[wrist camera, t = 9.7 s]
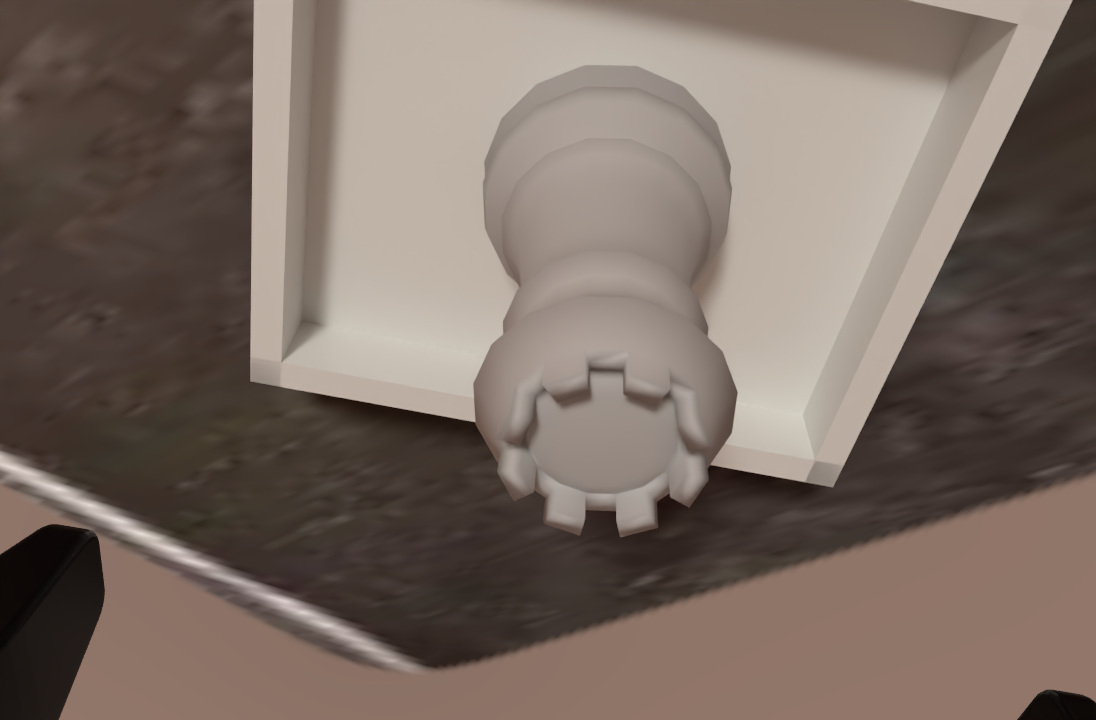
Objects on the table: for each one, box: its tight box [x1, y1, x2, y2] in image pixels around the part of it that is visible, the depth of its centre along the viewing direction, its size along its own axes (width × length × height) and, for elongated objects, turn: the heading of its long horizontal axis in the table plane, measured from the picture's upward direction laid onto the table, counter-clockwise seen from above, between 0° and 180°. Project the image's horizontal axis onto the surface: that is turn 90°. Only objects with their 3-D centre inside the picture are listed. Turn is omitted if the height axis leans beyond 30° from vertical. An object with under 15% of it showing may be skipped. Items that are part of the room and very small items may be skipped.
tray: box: [250, 0, 1072, 487], centre depth 17 cm, size 12×10×2 cm
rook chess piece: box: [473, 65, 738, 537], centre depth 14 cm, size 4×4×8 cm
